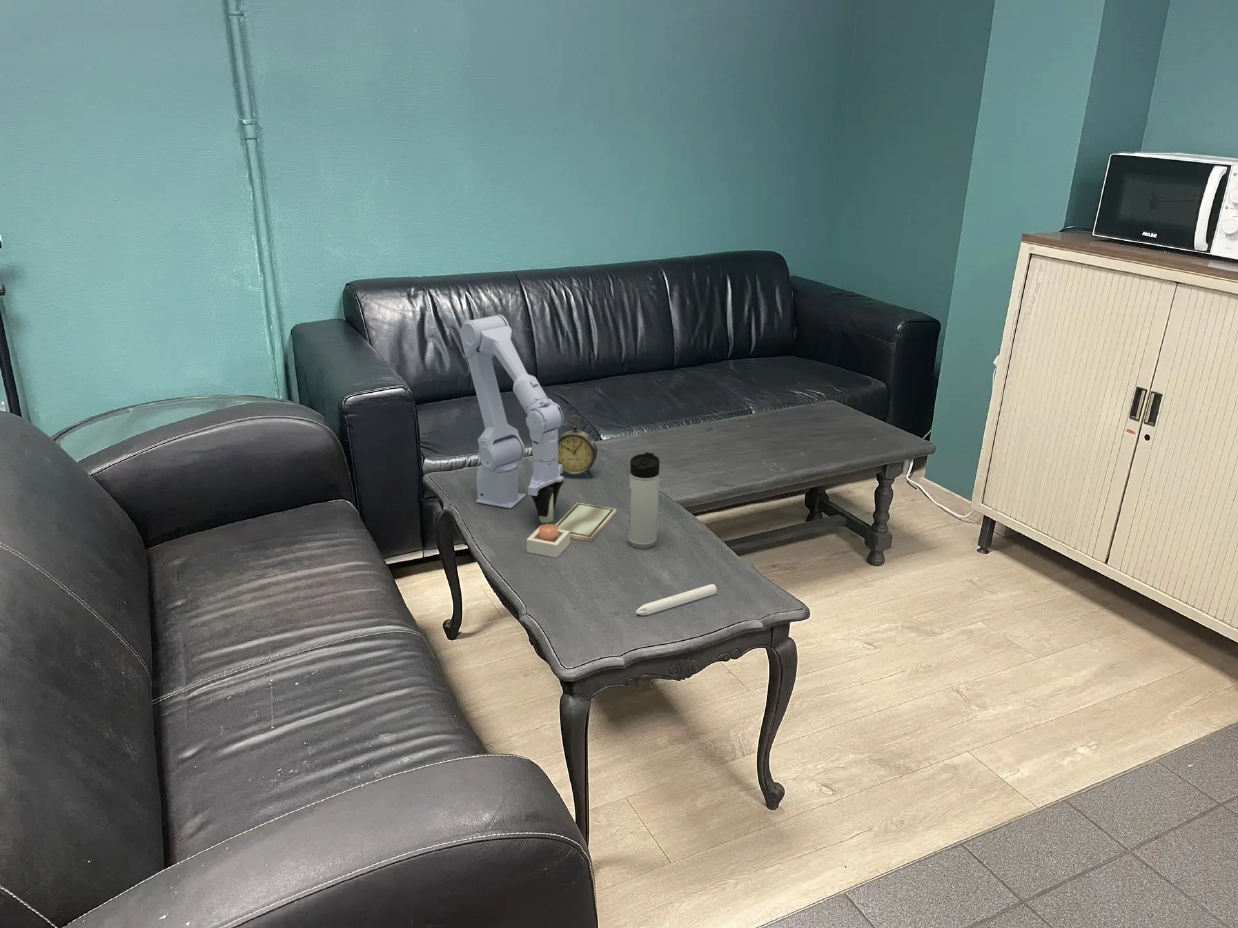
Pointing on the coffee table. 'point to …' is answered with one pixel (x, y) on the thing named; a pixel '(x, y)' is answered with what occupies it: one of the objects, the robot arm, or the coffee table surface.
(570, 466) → the alarm clock
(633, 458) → the travel mug
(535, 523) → the coffee table surface
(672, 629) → the coffee table surface
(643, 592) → the coffee table surface
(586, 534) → the picture frame
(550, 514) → the cylinder
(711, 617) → the coffee table surface
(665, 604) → the marker
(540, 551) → the button housing
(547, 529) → the button
